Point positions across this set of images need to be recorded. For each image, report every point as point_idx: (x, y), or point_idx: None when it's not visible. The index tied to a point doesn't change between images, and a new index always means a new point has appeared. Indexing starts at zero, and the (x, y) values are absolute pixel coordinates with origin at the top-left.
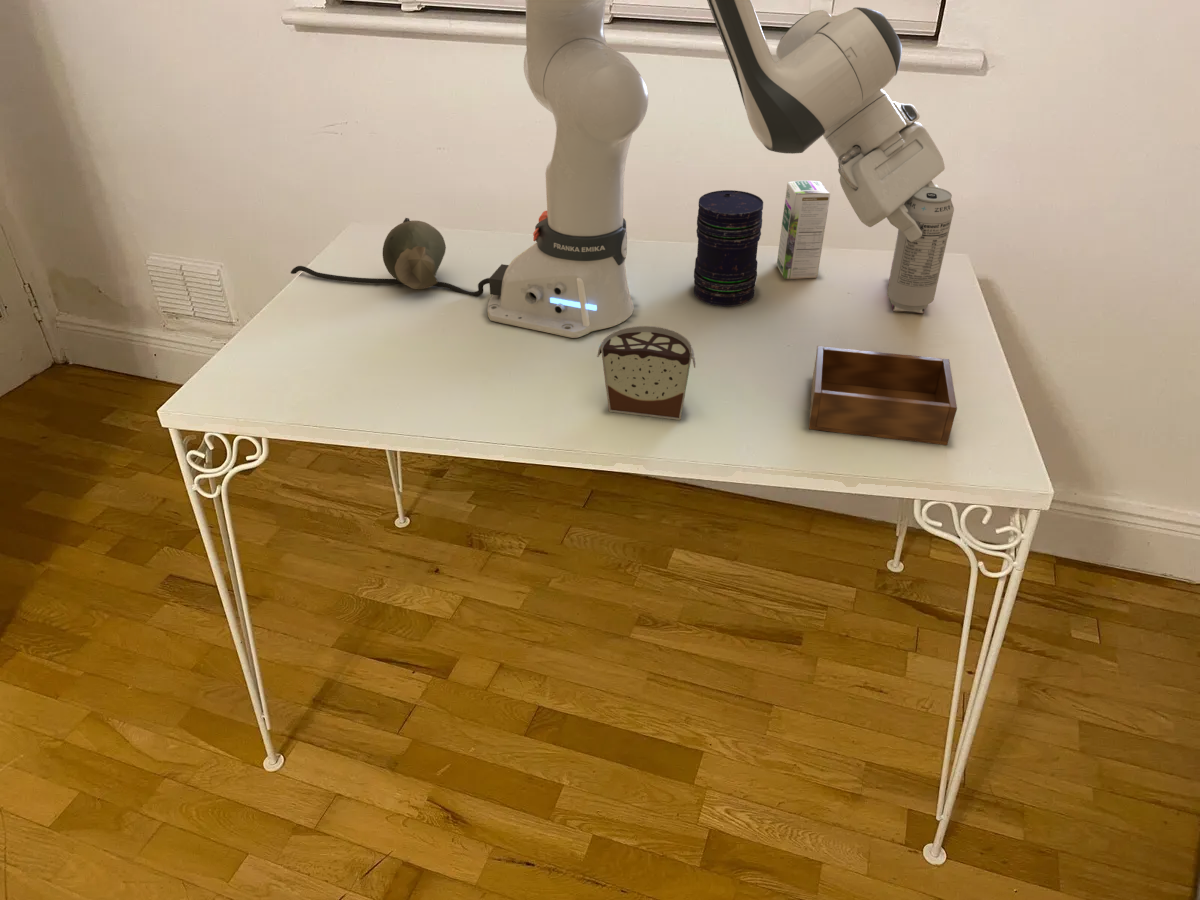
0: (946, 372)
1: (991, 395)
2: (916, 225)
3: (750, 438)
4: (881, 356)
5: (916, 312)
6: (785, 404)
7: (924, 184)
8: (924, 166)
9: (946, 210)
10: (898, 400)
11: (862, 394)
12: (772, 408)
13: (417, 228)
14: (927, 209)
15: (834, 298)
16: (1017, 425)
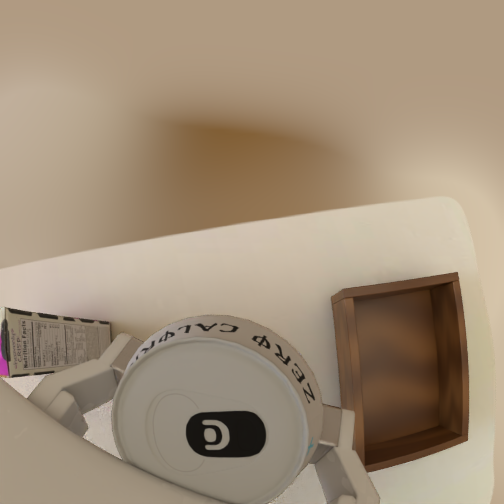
0: (383, 290)
1: (309, 233)
2: (347, 440)
3: (462, 469)
4: (361, 387)
5: (110, 331)
6: (400, 466)
7: (112, 460)
8: (6, 457)
9: (285, 350)
10: (465, 343)
11: (463, 388)
12: (410, 474)
13: None
14: (313, 432)
15: (101, 437)
16: (365, 207)
